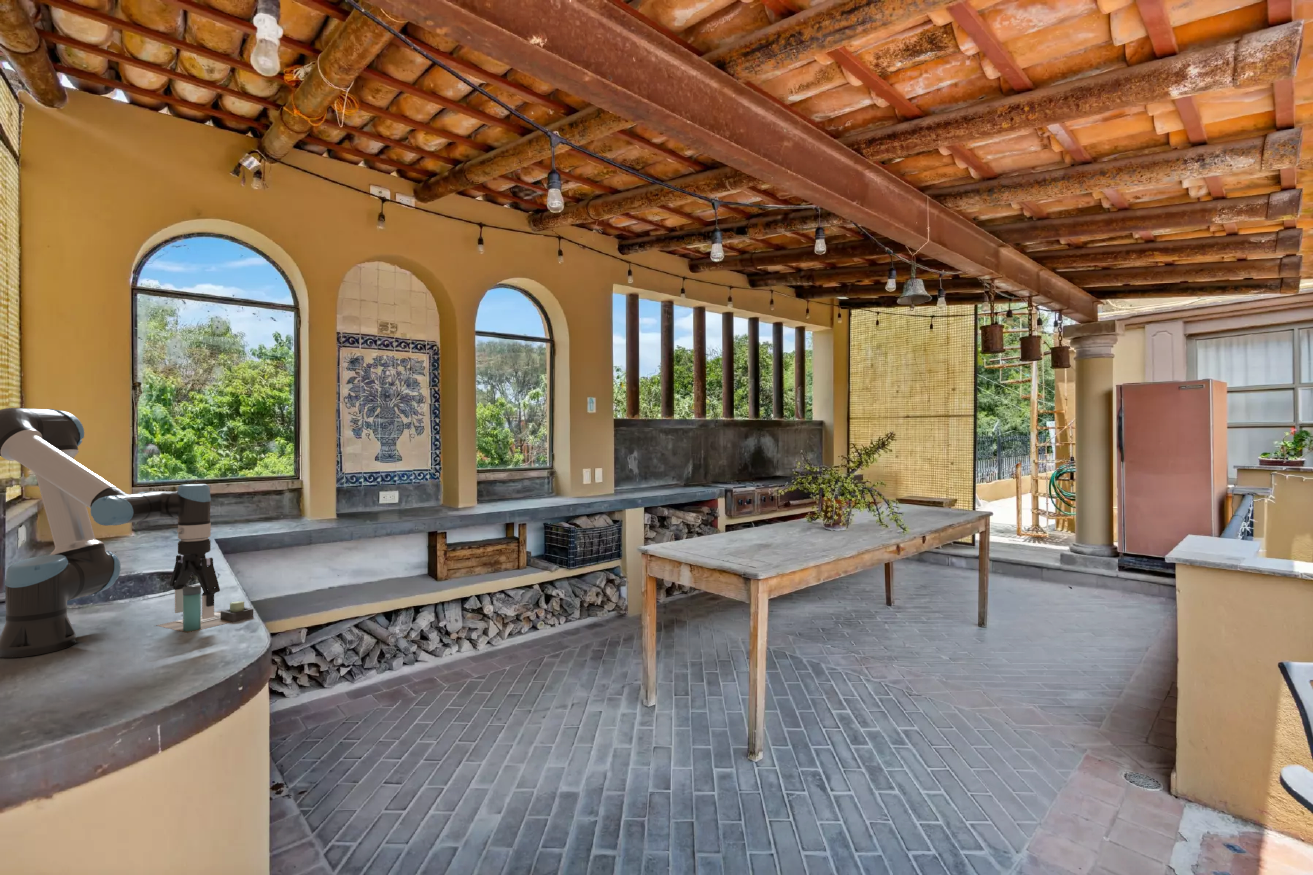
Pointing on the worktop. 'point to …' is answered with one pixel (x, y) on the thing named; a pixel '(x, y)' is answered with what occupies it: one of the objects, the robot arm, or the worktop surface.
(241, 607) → the button
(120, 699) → the worktop surface
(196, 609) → the marker
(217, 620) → the clipboard
